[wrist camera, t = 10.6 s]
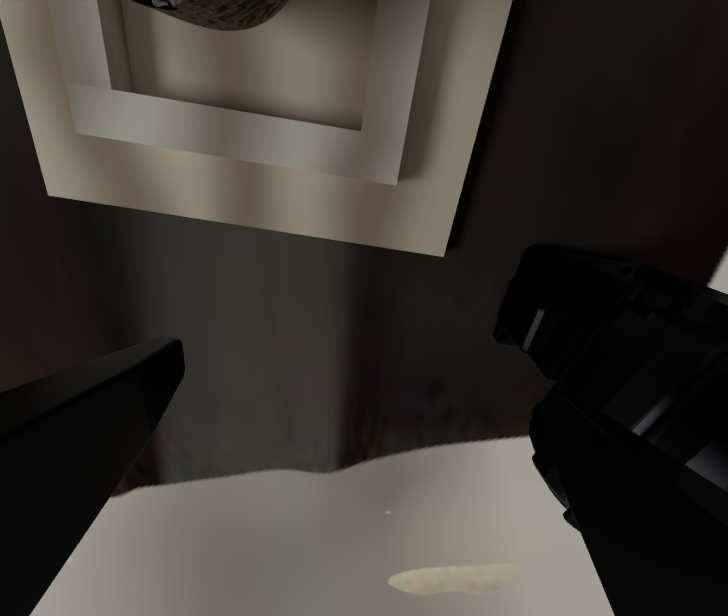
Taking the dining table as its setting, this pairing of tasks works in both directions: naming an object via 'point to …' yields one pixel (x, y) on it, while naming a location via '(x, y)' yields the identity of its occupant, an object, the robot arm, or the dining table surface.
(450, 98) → the docking plate
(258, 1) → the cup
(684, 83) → the dining table surface
